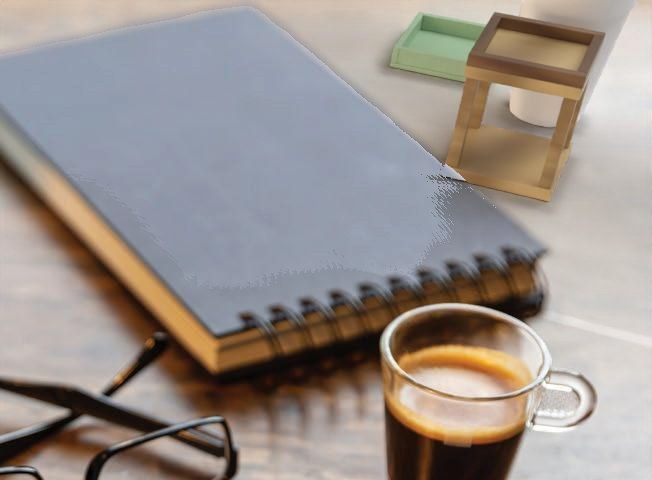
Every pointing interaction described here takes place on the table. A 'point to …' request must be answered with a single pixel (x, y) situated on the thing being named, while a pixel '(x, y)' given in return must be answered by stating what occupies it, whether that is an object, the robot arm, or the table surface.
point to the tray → (436, 46)
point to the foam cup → (577, 11)
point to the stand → (531, 74)
